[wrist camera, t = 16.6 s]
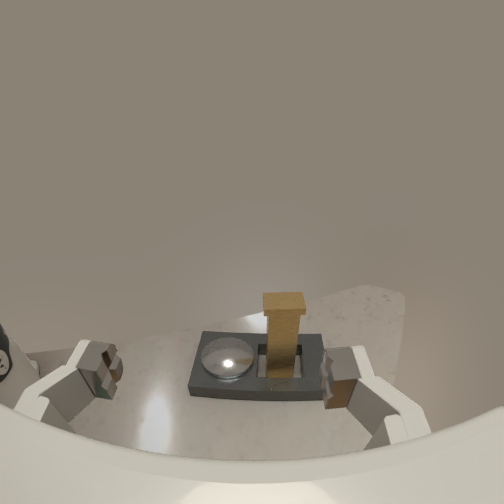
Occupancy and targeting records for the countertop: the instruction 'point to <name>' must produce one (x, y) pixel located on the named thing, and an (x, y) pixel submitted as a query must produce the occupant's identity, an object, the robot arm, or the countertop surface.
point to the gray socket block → (252, 369)
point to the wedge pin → (282, 331)
